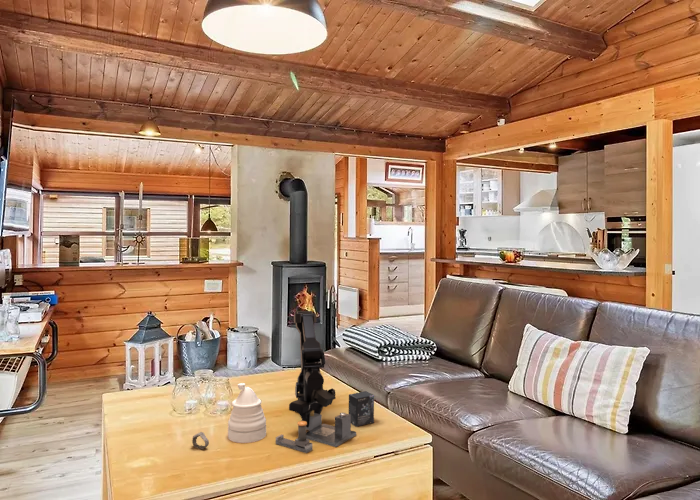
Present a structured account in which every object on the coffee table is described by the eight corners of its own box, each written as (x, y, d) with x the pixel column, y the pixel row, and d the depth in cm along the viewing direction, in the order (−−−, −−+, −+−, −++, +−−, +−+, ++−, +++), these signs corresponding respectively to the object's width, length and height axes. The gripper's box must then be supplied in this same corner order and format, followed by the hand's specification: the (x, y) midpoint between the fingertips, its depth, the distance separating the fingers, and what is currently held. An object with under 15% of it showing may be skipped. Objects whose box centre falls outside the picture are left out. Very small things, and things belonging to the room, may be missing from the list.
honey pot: (233, 445, 168) (233, 391, 167) (223, 432, 179) (223, 381, 179) (271, 438, 174) (271, 385, 173) (259, 426, 185) (259, 376, 184)
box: (356, 427, 184) (356, 398, 184) (348, 422, 189) (348, 394, 188) (374, 423, 188) (374, 394, 188) (365, 418, 193) (365, 390, 193)
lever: (294, 444, 165) (294, 422, 164) (300, 441, 167) (300, 419, 167) (304, 447, 162) (304, 425, 162) (310, 444, 165) (310, 422, 165)
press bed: (302, 437, 174) (302, 411, 174) (323, 426, 184) (323, 401, 184) (336, 447, 167) (336, 419, 166) (356, 435, 177) (356, 409, 176)
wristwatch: (197, 444, 169) (197, 429, 169) (211, 448, 166) (211, 432, 166) (189, 448, 166) (189, 432, 166) (203, 452, 163) (203, 436, 163)
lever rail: (275, 443, 169) (275, 437, 169) (281, 440, 172) (281, 434, 172) (306, 453, 162) (306, 446, 162) (312, 449, 164) (312, 443, 164)
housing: (301, 428, 183) (301, 411, 183) (310, 424, 187) (310, 407, 187) (313, 431, 180) (313, 414, 180) (321, 426, 184) (321, 410, 184)
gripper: (313, 391, 171) (313, 438, 171) (345, 378, 186) (345, 421, 187) (288, 386, 177) (288, 431, 177) (320, 374, 193) (320, 415, 193)
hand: (311, 424), depth 183 cm, fingers closed on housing, 5 cm apart
